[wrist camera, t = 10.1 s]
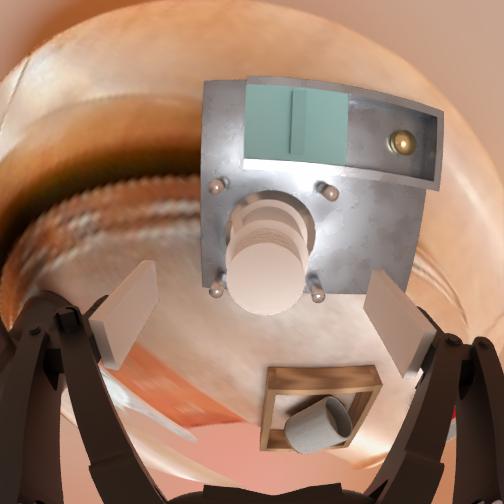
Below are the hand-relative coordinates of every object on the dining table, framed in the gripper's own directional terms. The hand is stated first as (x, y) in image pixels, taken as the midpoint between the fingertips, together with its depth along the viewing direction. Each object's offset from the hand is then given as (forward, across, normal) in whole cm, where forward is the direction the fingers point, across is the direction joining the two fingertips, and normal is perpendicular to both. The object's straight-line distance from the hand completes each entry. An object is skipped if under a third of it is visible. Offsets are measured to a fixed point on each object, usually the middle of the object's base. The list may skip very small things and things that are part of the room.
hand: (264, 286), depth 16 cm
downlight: (+10, 0, 0) cm, 10 cm away
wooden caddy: (+12, +9, -27) cm, 31 cm away
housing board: (+12, +5, +4) cm, 14 cm away
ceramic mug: (+12, +11, -29) cm, 33 cm away
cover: (+9, +2, +10) cm, 13 cm away
